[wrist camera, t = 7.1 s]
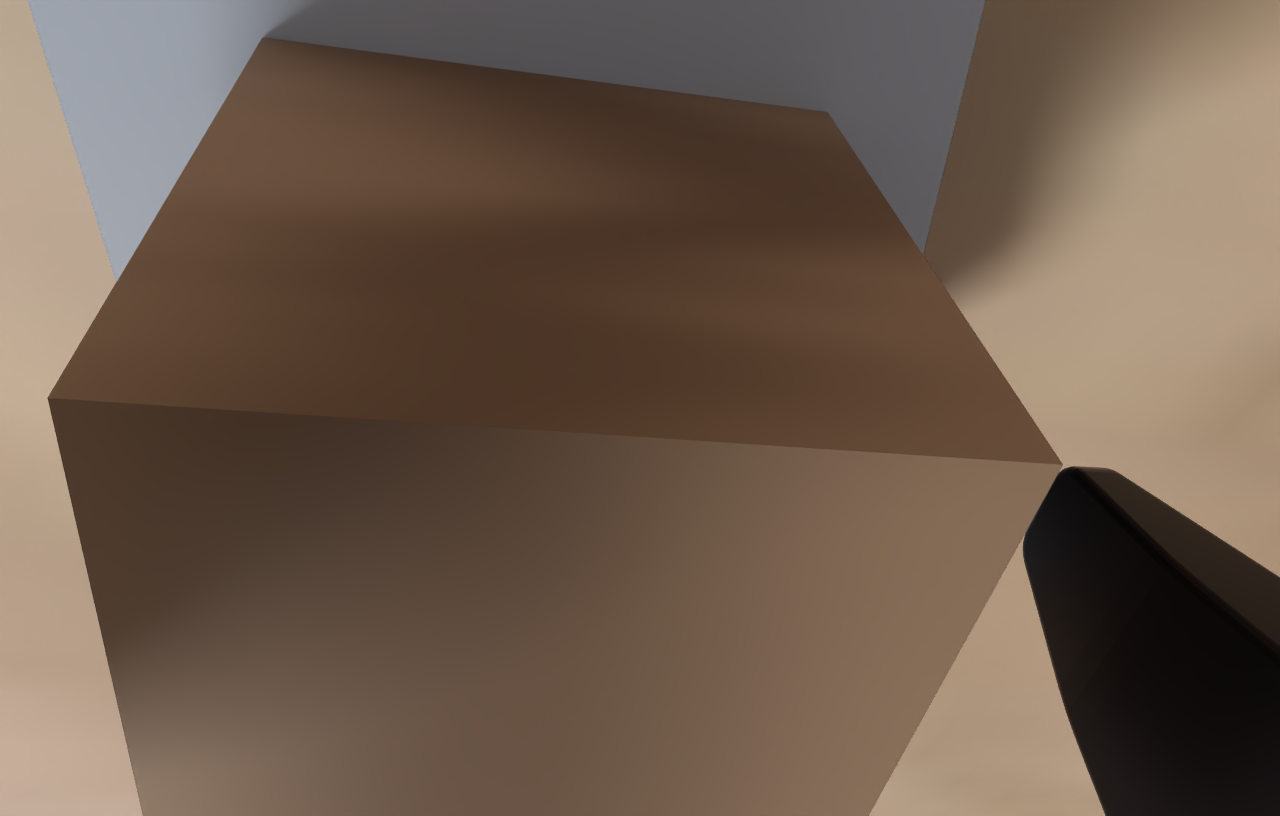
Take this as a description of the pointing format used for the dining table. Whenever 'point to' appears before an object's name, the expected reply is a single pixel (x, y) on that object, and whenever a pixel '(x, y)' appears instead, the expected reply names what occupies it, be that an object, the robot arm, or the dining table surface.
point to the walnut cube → (530, 456)
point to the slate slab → (520, 41)
